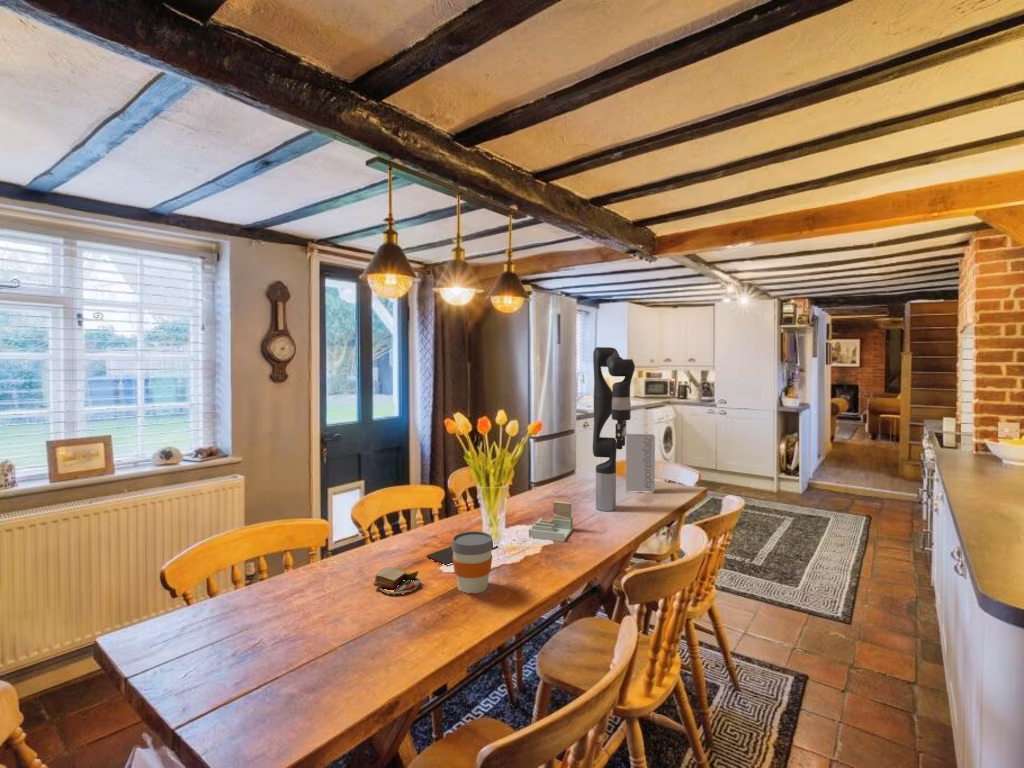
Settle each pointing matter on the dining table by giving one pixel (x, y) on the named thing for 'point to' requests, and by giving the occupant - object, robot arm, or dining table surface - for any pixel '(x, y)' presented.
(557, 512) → the tan rectangular block
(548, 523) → the offcuts
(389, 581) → the toy sandwich meal
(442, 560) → the smartphone
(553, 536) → the tray
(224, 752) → the dining table surface
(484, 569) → the reusable coffee cup
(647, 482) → the brochure
